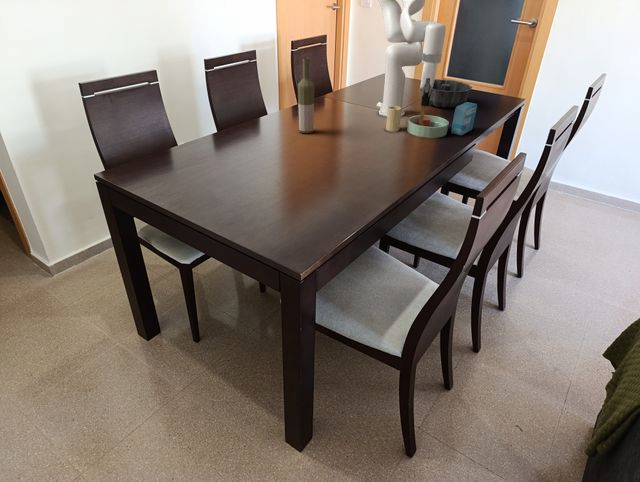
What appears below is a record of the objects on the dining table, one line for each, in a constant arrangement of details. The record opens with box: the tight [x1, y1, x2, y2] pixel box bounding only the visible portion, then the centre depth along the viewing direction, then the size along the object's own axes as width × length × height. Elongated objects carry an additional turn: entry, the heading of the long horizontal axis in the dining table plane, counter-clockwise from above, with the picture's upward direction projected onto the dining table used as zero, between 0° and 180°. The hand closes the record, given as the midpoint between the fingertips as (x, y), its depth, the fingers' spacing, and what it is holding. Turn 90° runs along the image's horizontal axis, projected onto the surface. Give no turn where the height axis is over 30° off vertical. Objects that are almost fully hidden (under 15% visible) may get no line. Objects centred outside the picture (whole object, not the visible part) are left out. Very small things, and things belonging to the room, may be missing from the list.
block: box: [418, 117, 430, 127], centre depth 192 cm, size 4×4×4 cm
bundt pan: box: [419, 78, 473, 109], centre depth 225 cm, size 26×26×10 cm
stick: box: [419, 105, 426, 126], centre depth 182 cm, size 2×2×16 cm
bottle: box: [297, 57, 315, 134], centre depth 179 cm, size 7×7×30 cm
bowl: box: [406, 114, 449, 139], centre depth 187 cm, size 17×17×5 cm
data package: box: [450, 101, 478, 137], centre depth 186 cm, size 12×4×12 cm, turn 138°
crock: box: [385, 106, 403, 132], centre depth 187 cm, size 6×6×10 cm
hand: (425, 104), depth 180 cm, fingers closed on stick, 1 cm apart
